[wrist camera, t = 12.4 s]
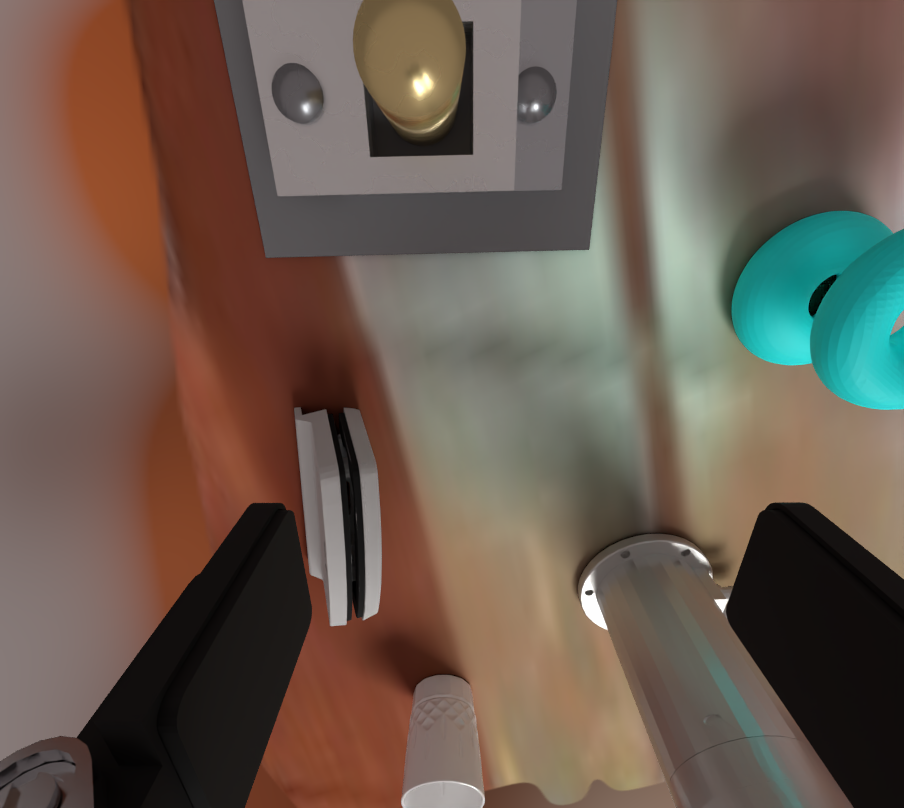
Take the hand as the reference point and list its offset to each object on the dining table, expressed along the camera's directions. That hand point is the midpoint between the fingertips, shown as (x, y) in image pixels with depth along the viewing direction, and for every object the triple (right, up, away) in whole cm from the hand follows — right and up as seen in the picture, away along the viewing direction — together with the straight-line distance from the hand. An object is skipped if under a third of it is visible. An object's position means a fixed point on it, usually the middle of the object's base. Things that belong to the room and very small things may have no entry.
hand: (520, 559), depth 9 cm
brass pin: (-3, +20, +15) cm, 26 cm away
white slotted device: (-10, -4, +28) cm, 30 cm away
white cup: (-2, -30, +40) cm, 50 cm away
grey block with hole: (-3, +20, +15) cm, 26 cm away
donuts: (+23, +11, +21) cm, 33 cm away
